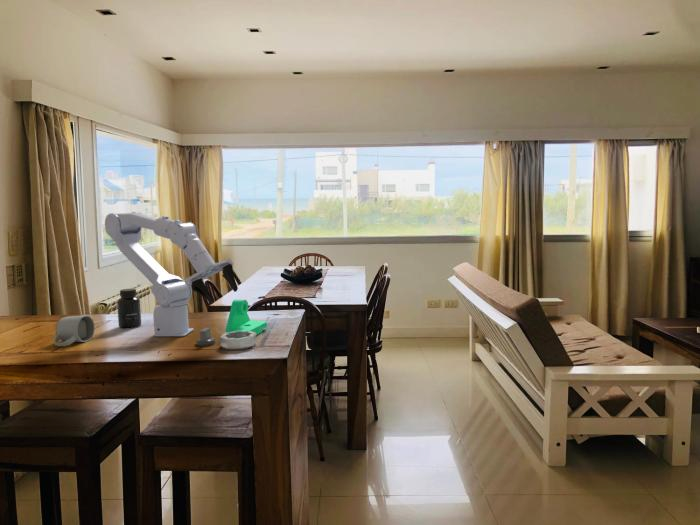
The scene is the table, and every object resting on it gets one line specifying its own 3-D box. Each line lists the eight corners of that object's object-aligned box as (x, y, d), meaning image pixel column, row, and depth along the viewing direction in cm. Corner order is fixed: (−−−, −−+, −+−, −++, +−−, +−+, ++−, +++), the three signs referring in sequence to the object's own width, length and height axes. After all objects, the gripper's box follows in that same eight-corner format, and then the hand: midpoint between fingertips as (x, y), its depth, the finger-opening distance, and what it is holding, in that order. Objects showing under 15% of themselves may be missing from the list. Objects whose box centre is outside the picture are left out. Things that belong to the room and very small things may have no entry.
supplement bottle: (131, 329, 172) (128, 292, 170) (114, 328, 174) (111, 291, 172) (146, 324, 178) (143, 288, 177) (129, 323, 180) (126, 287, 179)
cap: (193, 346, 151) (192, 331, 151) (200, 341, 156) (199, 327, 156) (211, 346, 151) (211, 331, 150) (217, 341, 156) (217, 327, 155)
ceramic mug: (72, 337, 164) (69, 312, 163) (96, 337, 163) (93, 312, 162) (46, 347, 154) (43, 321, 153) (72, 348, 153) (68, 321, 151)
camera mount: (249, 340, 157) (247, 304, 156) (226, 338, 159) (224, 303, 158) (268, 329, 168) (266, 296, 167) (246, 328, 171) (244, 295, 169)
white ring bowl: (217, 350, 147) (216, 339, 146) (227, 340, 156) (227, 330, 155) (250, 350, 146) (249, 339, 145) (258, 340, 155) (258, 330, 154)
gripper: (177, 261, 150) (203, 301, 147) (223, 241, 158) (249, 279, 155) (175, 272, 156) (200, 311, 153) (220, 252, 164) (244, 289, 161)
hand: (224, 296), depth 154 cm, fingers open, 7 cm apart
